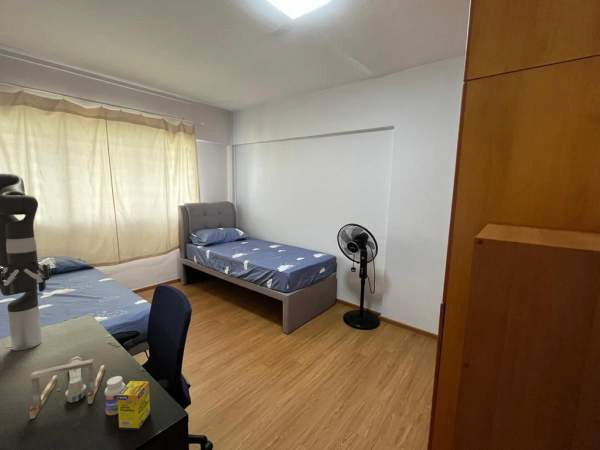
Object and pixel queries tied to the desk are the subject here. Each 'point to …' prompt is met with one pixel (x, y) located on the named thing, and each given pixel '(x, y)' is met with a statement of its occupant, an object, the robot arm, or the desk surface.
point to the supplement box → (133, 405)
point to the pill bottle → (113, 394)
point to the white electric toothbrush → (75, 383)
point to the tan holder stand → (41, 398)
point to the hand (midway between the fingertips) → (26, 292)
